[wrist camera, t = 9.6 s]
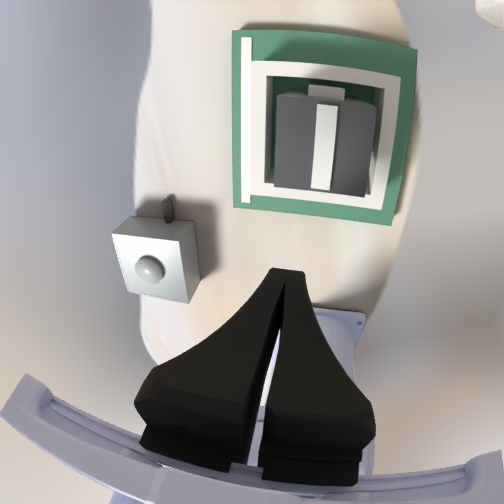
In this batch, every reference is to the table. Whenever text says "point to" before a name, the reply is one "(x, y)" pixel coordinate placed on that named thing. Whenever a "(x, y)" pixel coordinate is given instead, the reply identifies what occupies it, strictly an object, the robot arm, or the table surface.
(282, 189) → the board
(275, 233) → the table surface
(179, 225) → the gray button box
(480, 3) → the cable organizer
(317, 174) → the plug
